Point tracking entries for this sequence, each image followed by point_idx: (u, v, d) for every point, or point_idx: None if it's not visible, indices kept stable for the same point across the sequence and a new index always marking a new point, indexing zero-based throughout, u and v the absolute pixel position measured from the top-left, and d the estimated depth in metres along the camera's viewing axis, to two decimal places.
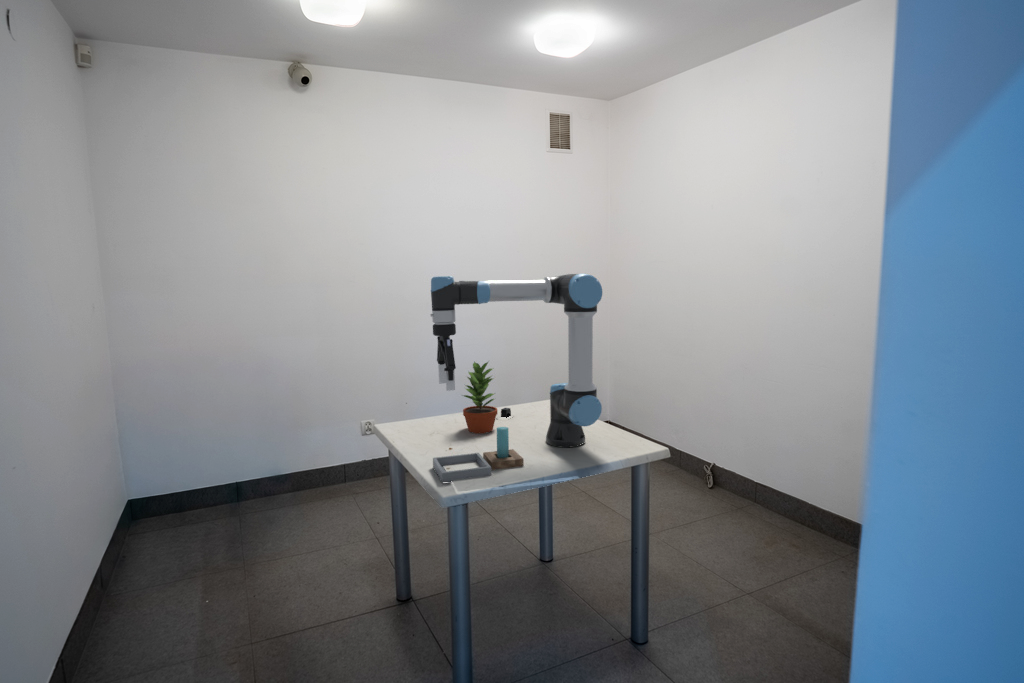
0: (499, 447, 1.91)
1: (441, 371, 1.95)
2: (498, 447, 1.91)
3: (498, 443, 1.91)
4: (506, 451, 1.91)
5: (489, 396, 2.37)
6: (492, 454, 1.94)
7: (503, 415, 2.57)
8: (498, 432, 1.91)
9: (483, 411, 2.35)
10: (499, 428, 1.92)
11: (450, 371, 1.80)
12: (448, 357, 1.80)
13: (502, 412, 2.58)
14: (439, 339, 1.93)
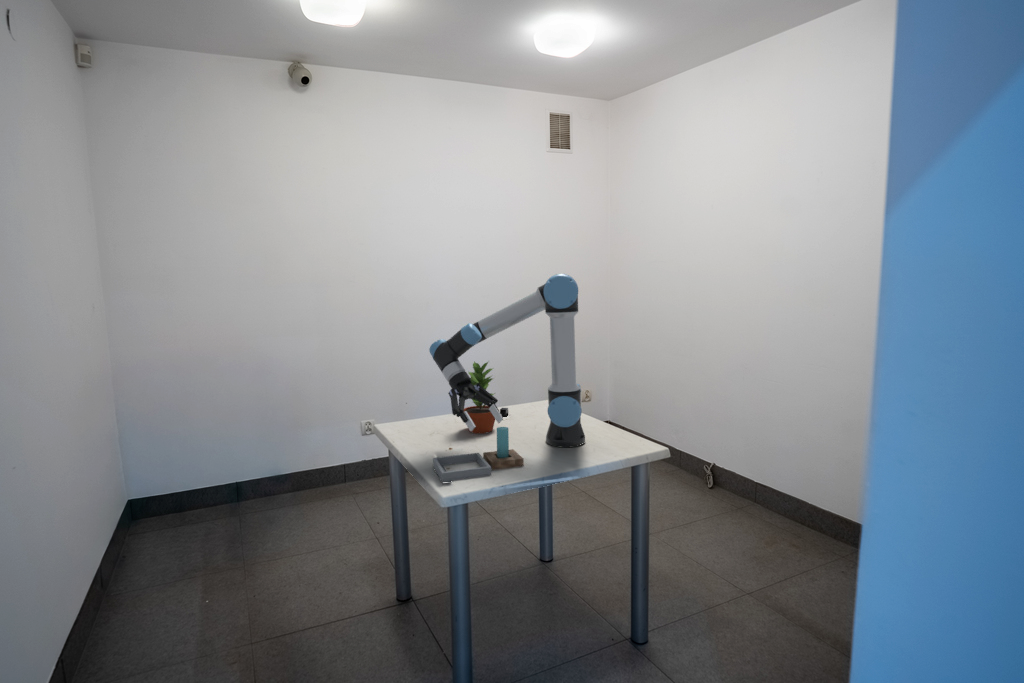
0: (499, 447, 1.91)
1: (493, 412, 2.02)
2: (498, 447, 1.91)
3: (498, 443, 1.91)
4: (506, 451, 1.91)
5: None
6: (492, 454, 1.94)
7: (502, 415, 2.57)
8: (498, 432, 1.91)
9: (483, 411, 2.35)
10: (499, 428, 1.92)
11: (460, 414, 1.92)
12: (452, 405, 1.94)
13: (501, 412, 2.57)
14: (475, 388, 2.06)
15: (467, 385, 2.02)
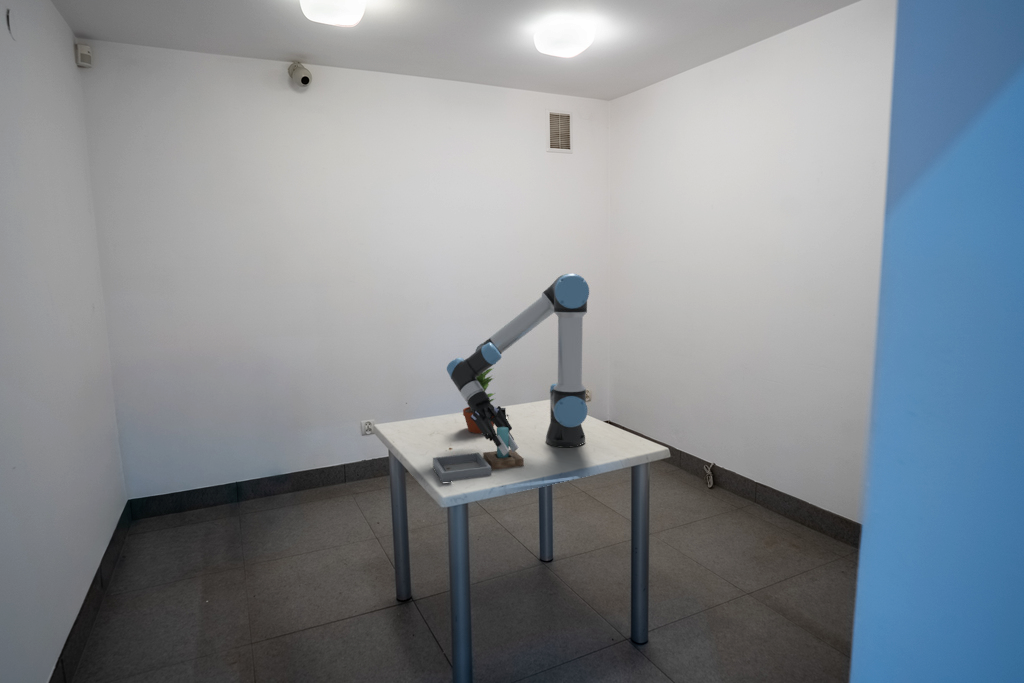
0: None
1: None
2: None
3: None
4: None
5: (489, 396, 2.37)
6: (492, 454, 1.94)
7: None
8: (498, 432, 1.91)
9: None
10: (499, 428, 1.92)
11: (492, 438, 1.90)
12: (481, 429, 1.90)
13: None
14: None
15: (486, 403, 1.98)
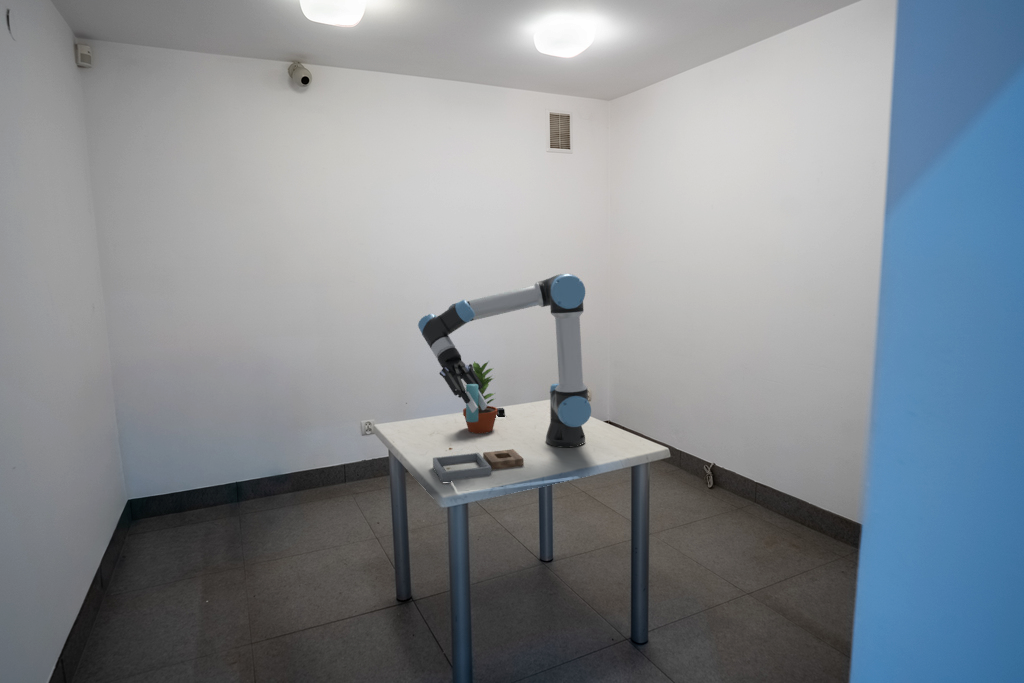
0: None
1: None
2: None
3: None
4: None
5: (489, 396, 2.37)
6: (492, 454, 1.94)
7: (501, 415, 2.57)
8: (467, 388, 1.85)
9: (483, 411, 2.35)
10: (469, 385, 1.86)
11: (461, 395, 1.84)
12: (450, 385, 1.85)
13: (500, 412, 2.57)
14: None
15: (457, 360, 1.93)
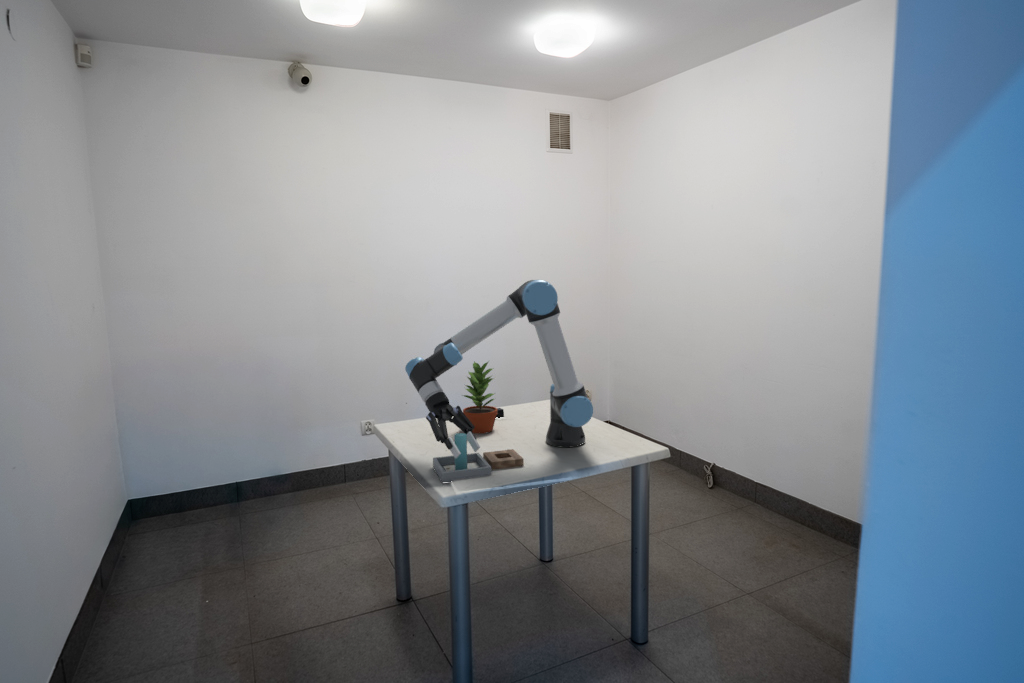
0: None
1: (469, 439, 1.89)
2: None
3: None
4: (464, 458, 1.85)
5: (489, 396, 2.37)
6: (492, 454, 1.94)
7: (500, 415, 2.57)
8: (456, 439, 1.84)
9: (483, 411, 2.35)
10: (457, 434, 1.85)
11: (444, 441, 1.82)
12: (433, 430, 1.83)
13: (499, 413, 2.57)
14: None
15: (445, 405, 1.91)
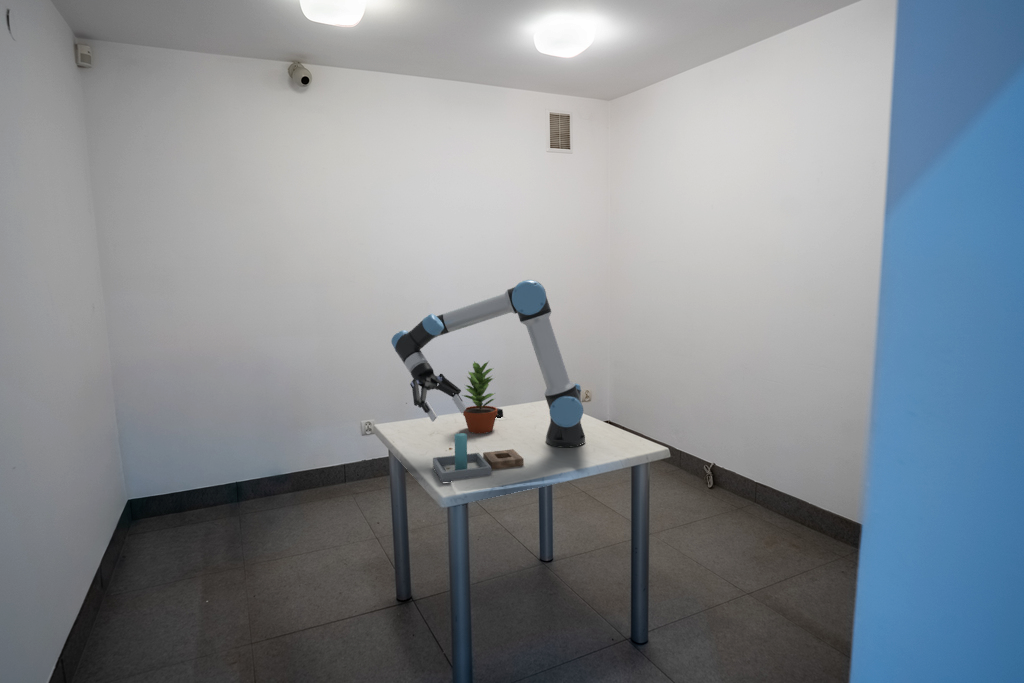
0: (457, 454, 1.84)
1: (456, 402, 2.02)
2: (456, 454, 1.85)
3: (456, 450, 1.84)
4: (464, 458, 1.85)
5: (489, 396, 2.37)
6: (492, 454, 1.94)
7: (500, 415, 2.57)
8: (456, 439, 1.84)
9: (483, 411, 2.35)
10: (457, 434, 1.85)
11: (421, 405, 1.91)
12: (413, 395, 1.93)
13: (499, 413, 2.56)
14: None
15: (429, 376, 2.01)
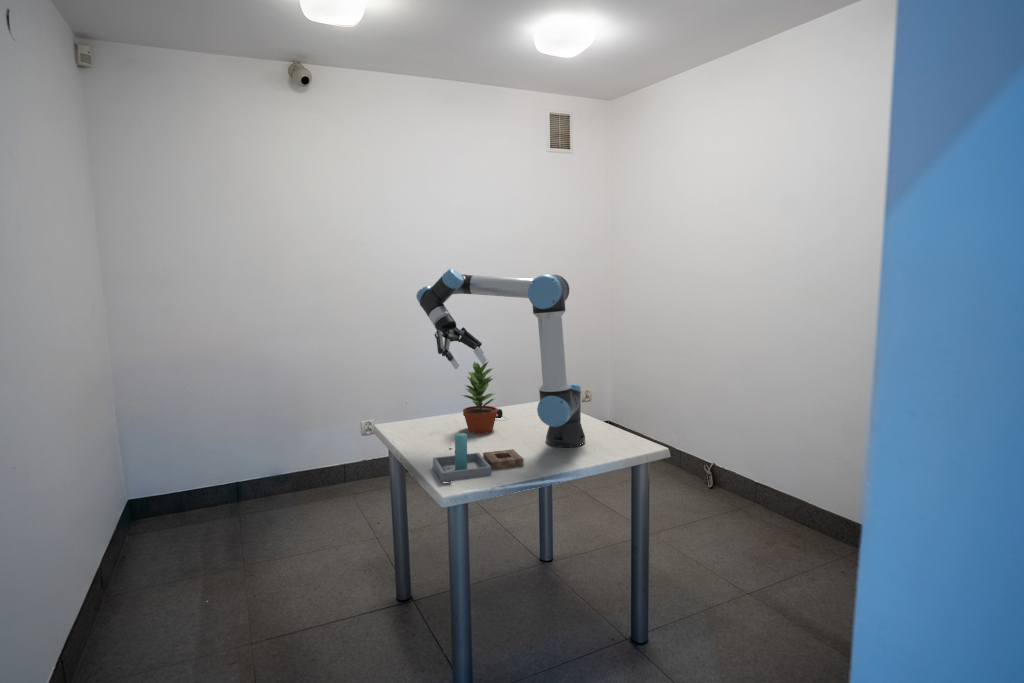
0: (457, 454, 1.84)
1: (477, 354, 2.12)
2: (456, 454, 1.85)
3: (456, 450, 1.85)
4: (464, 458, 1.85)
5: (489, 396, 2.37)
6: (492, 454, 1.94)
7: (500, 415, 2.57)
8: (456, 438, 1.84)
9: (483, 411, 2.35)
10: (457, 434, 1.85)
11: (445, 353, 2.01)
12: (437, 345, 2.03)
13: (499, 413, 2.56)
14: (460, 332, 2.15)
15: (452, 328, 2.11)
